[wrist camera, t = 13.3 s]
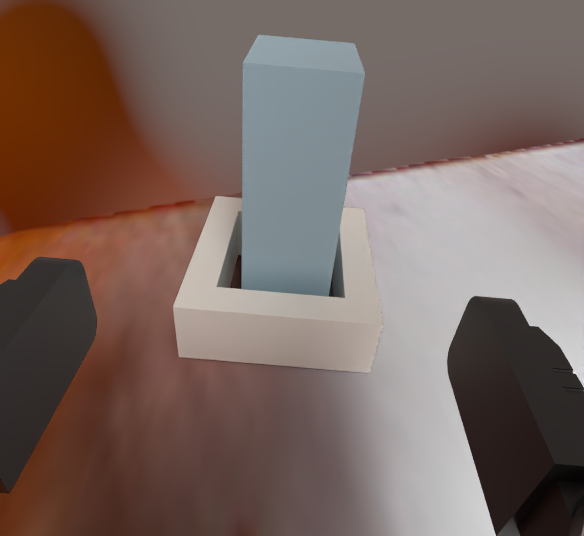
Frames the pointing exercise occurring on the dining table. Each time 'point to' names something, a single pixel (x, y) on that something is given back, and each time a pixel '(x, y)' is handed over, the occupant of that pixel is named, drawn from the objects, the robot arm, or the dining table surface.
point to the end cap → (278, 304)
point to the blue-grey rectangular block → (296, 160)
